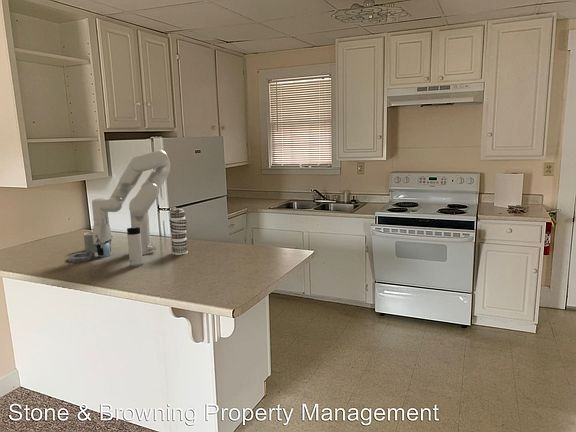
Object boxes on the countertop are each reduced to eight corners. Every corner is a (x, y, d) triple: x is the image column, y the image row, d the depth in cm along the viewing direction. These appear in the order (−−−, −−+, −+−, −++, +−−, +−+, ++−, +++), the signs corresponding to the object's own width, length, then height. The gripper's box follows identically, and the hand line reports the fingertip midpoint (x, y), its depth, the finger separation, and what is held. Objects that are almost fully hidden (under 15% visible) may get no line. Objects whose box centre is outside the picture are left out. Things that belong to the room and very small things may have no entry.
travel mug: (129, 267, 217) (126, 228, 213) (130, 264, 223) (127, 226, 219) (142, 266, 218) (139, 227, 215) (143, 262, 225) (140, 225, 221)
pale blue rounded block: (112, 254, 241) (111, 242, 240) (106, 257, 235) (105, 245, 234) (103, 254, 242) (102, 242, 241) (96, 257, 236) (95, 244, 235)
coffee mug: (93, 253, 245) (92, 235, 243) (81, 251, 249) (79, 234, 247) (112, 247, 257) (111, 230, 255) (100, 245, 261) (99, 229, 259)
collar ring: (100, 256, 239) (99, 252, 238) (84, 262, 226) (84, 259, 226) (79, 255, 241) (79, 251, 241) (63, 261, 229) (62, 258, 228)
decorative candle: (178, 256, 236) (175, 210, 231) (168, 253, 242) (165, 209, 237) (192, 252, 243) (189, 208, 238) (181, 249, 249) (178, 206, 244)
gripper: (104, 218, 244) (107, 249, 247) (84, 224, 227) (88, 257, 231) (116, 218, 243) (119, 249, 246) (97, 224, 226) (100, 258, 229)
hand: (104, 253), depth 238 cm, fingers closed on pale blue rounded block, 6 cm apart
